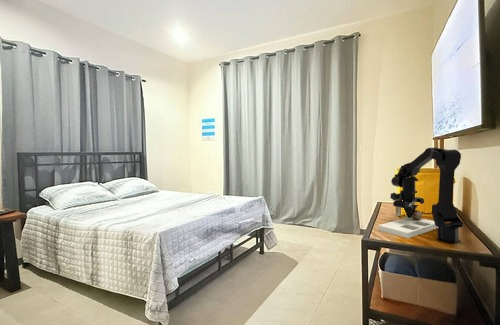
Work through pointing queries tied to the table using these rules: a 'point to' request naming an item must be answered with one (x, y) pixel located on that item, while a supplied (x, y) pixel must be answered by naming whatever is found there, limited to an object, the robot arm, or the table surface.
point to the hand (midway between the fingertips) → (409, 218)
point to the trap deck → (408, 227)
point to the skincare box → (398, 210)
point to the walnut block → (417, 215)
